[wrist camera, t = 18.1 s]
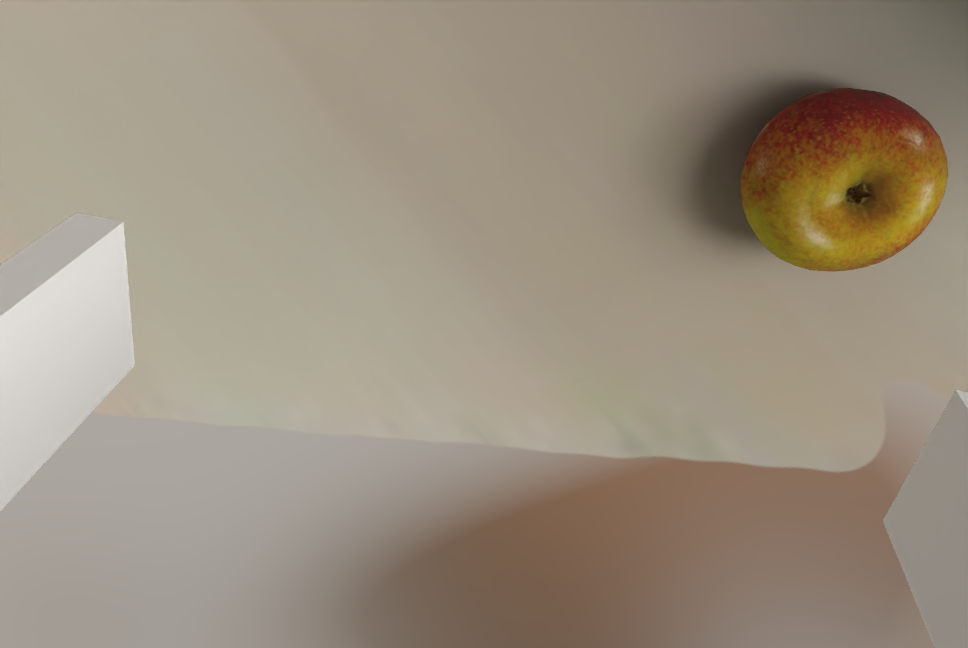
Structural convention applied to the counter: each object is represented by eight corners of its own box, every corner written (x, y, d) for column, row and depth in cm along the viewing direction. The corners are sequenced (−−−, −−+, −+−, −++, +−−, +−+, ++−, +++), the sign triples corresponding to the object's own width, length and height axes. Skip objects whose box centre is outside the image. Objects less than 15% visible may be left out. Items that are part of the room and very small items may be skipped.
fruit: (918, 54, 42) (980, 93, 35) (917, 218, 46) (973, 282, 39) (723, 93, 44) (745, 137, 37) (739, 247, 48) (761, 312, 41)
